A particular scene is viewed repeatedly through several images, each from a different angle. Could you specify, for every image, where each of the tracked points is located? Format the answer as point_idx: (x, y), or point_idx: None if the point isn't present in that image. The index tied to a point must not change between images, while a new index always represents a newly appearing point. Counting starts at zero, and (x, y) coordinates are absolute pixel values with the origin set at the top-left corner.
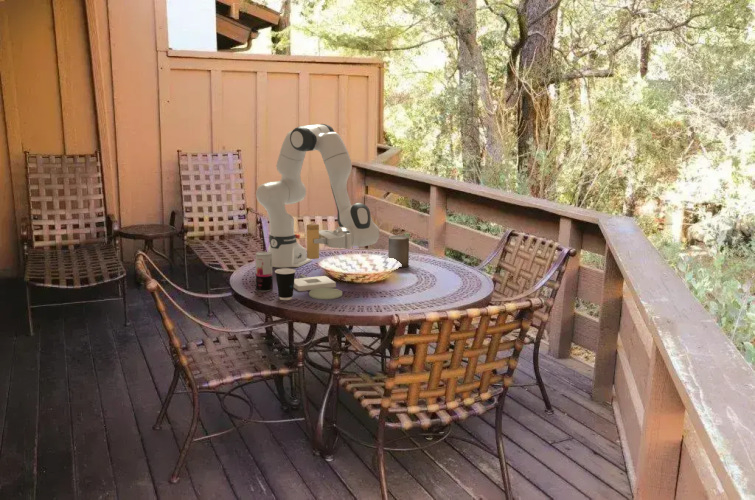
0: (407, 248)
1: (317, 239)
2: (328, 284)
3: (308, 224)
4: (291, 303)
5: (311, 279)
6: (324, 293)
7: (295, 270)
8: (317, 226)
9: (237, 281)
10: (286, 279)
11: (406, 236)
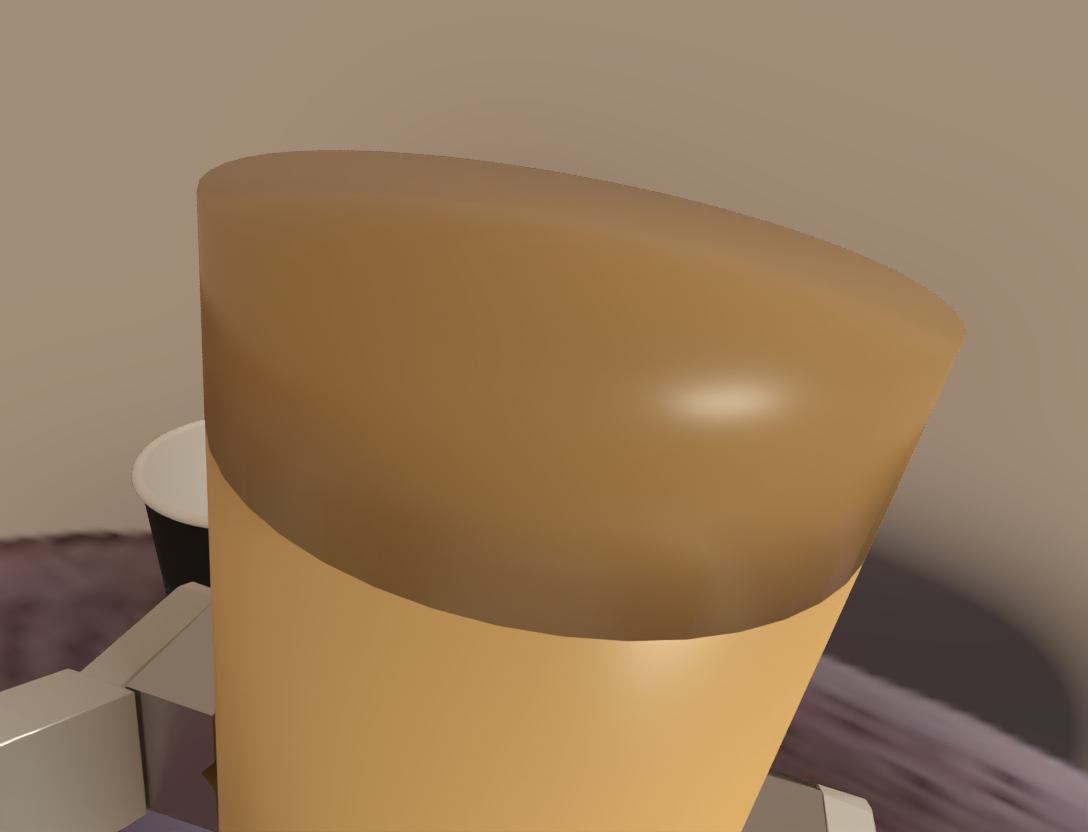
0: None
1: (109, 654)
2: None
3: (853, 257)
4: (114, 625)
5: None
6: None
7: (159, 503)
8: (198, 223)
9: (938, 714)
10: (186, 485)
11: None
